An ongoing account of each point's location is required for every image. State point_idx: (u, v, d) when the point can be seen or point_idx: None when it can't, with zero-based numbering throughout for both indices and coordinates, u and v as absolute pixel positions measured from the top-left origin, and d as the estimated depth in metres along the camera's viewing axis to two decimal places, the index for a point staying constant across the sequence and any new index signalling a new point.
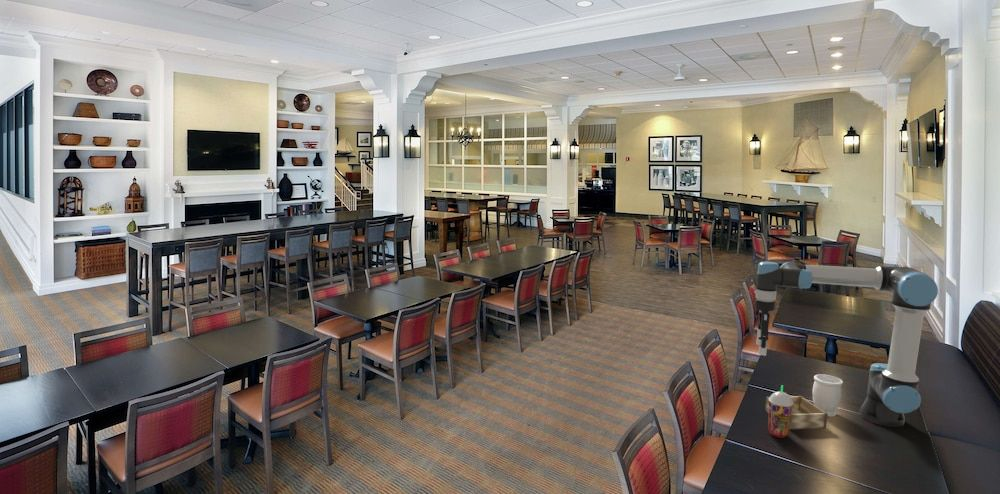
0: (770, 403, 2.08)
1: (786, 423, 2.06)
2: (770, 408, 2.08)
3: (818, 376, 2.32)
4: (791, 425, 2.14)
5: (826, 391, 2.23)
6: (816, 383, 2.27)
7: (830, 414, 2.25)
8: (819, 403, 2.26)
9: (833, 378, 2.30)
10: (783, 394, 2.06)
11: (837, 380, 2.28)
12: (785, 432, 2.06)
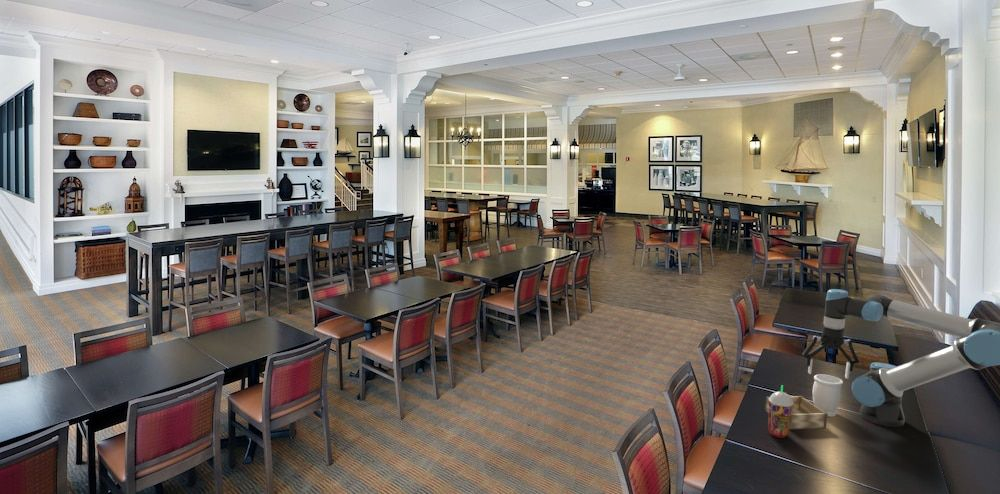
0: (770, 403, 2.08)
1: (786, 423, 2.06)
2: (770, 408, 2.08)
3: (818, 376, 2.32)
4: (791, 425, 2.14)
5: (826, 391, 2.23)
6: (816, 383, 2.27)
7: (830, 414, 2.25)
8: (819, 403, 2.26)
9: (833, 378, 2.30)
10: (783, 394, 2.06)
11: (837, 380, 2.28)
12: (785, 432, 2.06)
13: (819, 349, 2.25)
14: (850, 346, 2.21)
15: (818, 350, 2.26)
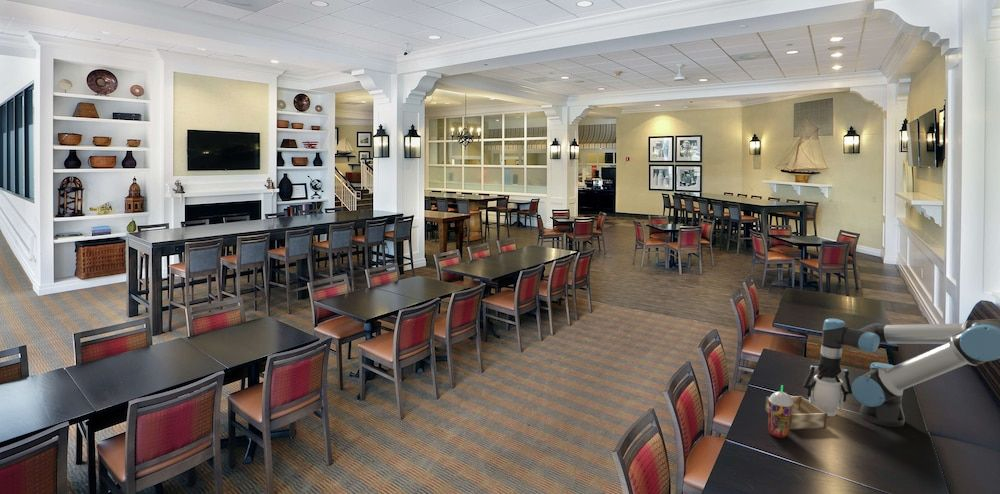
0: (770, 403, 2.08)
1: (786, 423, 2.06)
2: (770, 408, 2.08)
3: None
4: (791, 425, 2.14)
5: (826, 391, 2.23)
6: (816, 383, 2.27)
7: (830, 414, 2.25)
8: (819, 403, 2.26)
9: (833, 378, 2.30)
10: (783, 394, 2.06)
11: None
12: (785, 432, 2.06)
13: None
14: (846, 376, 2.23)
15: None
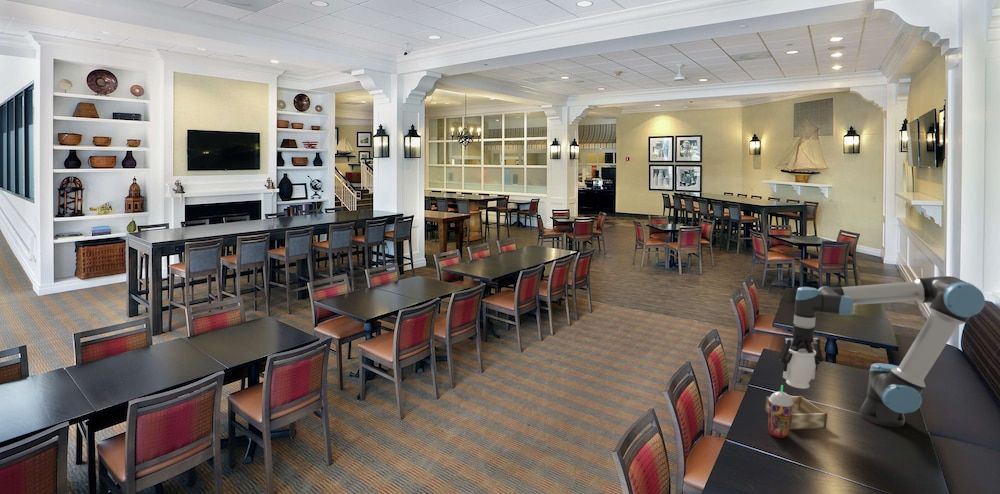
0: (770, 403, 2.08)
1: (786, 423, 2.06)
2: (770, 408, 2.08)
3: None
4: (791, 425, 2.14)
5: (805, 363, 2.14)
6: (792, 356, 2.17)
7: (806, 386, 2.17)
8: (797, 376, 2.16)
9: None
10: (783, 394, 2.06)
11: None
12: (785, 432, 2.06)
13: None
14: (818, 345, 2.17)
15: None
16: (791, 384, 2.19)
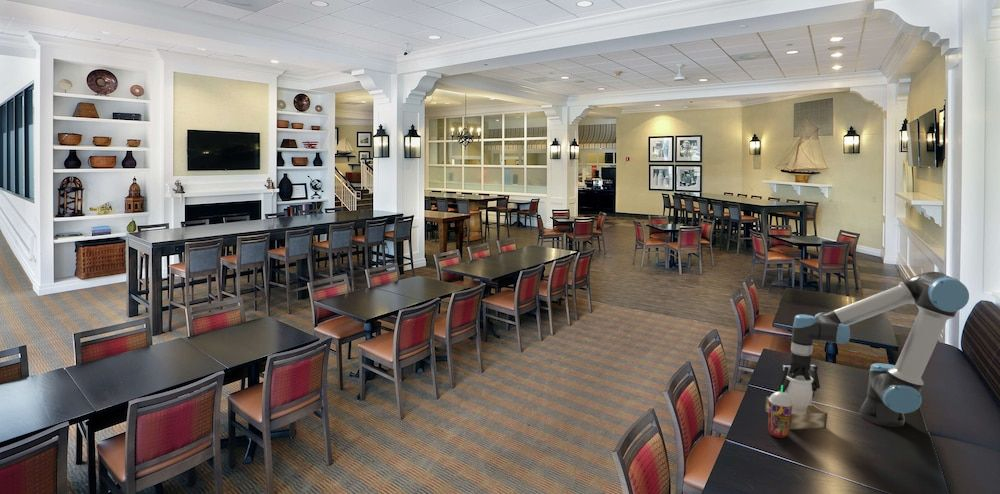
0: (770, 403, 2.08)
1: (786, 423, 2.06)
2: (770, 408, 2.08)
3: None
4: (791, 425, 2.14)
5: (802, 390, 2.16)
6: (790, 383, 2.19)
7: (803, 412, 2.19)
8: (795, 403, 2.18)
9: None
10: (783, 394, 2.06)
11: (803, 376, 2.23)
12: (785, 432, 2.06)
13: None
14: (815, 372, 2.19)
15: None
16: None
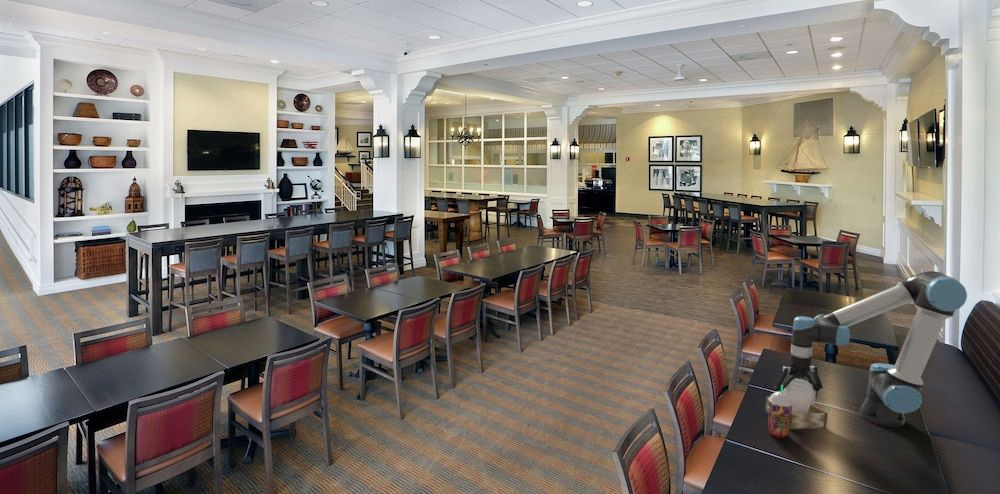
0: (770, 403, 2.08)
1: (786, 423, 2.06)
2: (770, 408, 2.08)
3: None
4: (791, 425, 2.14)
5: (802, 397, 2.16)
6: (789, 389, 2.19)
7: None
8: (794, 409, 2.18)
9: (798, 381, 2.25)
10: (783, 394, 2.06)
11: (803, 382, 2.23)
12: (785, 432, 2.06)
13: (790, 380, 2.19)
14: (816, 373, 2.19)
15: (789, 381, 2.19)
16: None
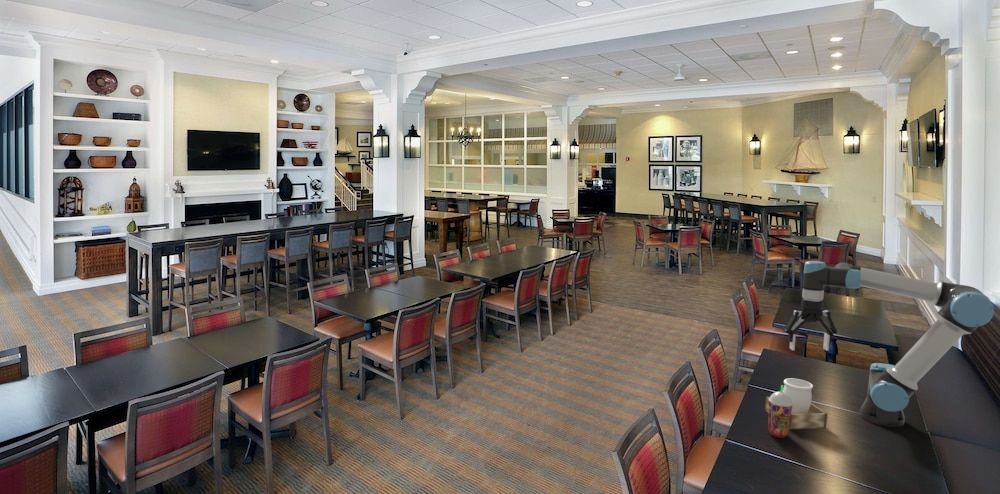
0: (770, 403, 2.08)
1: (786, 423, 2.06)
2: (770, 408, 2.08)
3: (785, 381, 2.24)
4: (791, 425, 2.14)
5: (802, 396, 2.16)
6: (789, 389, 2.19)
7: None
8: (794, 409, 2.18)
9: (798, 381, 2.25)
10: (783, 394, 2.06)
11: (803, 382, 2.24)
12: (785, 432, 2.06)
13: (801, 323, 2.21)
14: (829, 317, 2.20)
15: (800, 325, 2.21)
16: None
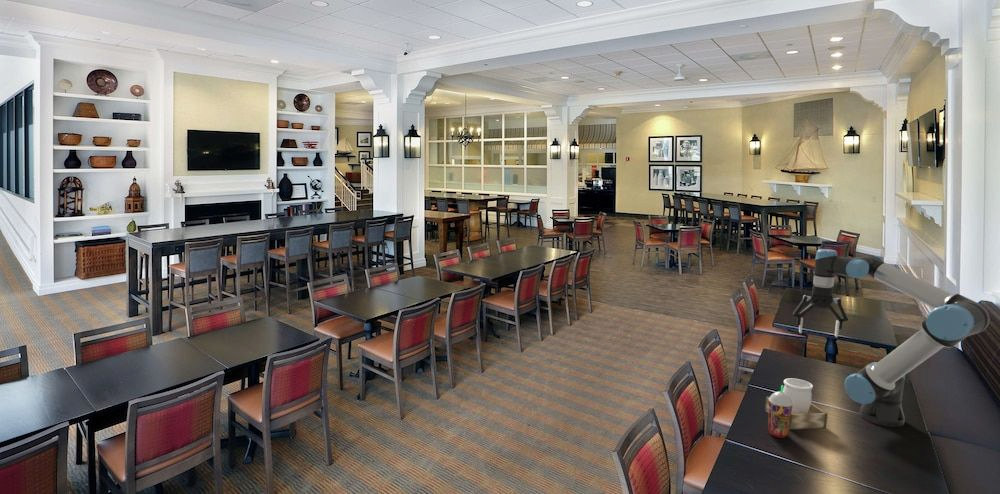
0: (770, 403, 2.08)
1: (786, 423, 2.06)
2: (770, 408, 2.08)
3: (785, 381, 2.24)
4: (791, 425, 2.14)
5: (802, 397, 2.16)
6: (789, 389, 2.19)
7: None
8: (794, 409, 2.18)
9: (798, 381, 2.25)
10: (783, 394, 2.06)
11: (803, 382, 2.24)
12: (785, 432, 2.06)
13: (809, 308, 2.31)
14: (839, 304, 2.27)
15: (808, 309, 2.31)
16: None
